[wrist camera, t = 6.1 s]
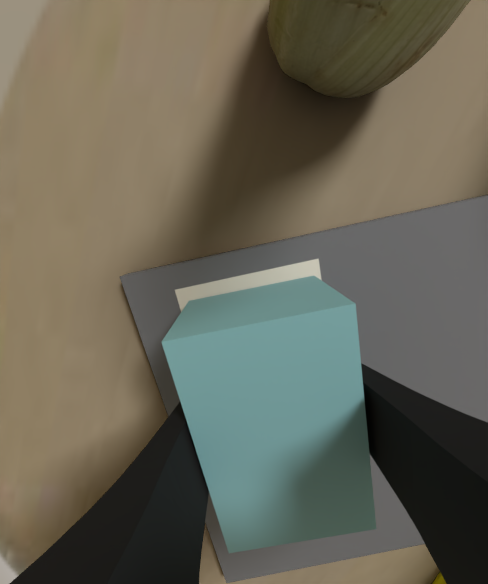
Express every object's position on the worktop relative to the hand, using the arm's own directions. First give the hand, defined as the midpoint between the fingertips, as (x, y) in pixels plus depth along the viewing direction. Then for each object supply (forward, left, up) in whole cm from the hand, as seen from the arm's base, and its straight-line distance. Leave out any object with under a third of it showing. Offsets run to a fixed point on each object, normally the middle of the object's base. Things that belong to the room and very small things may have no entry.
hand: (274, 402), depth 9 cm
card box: (0, 0, -2) cm, 2 cm away
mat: (-3, +4, -3) cm, 6 cm away
